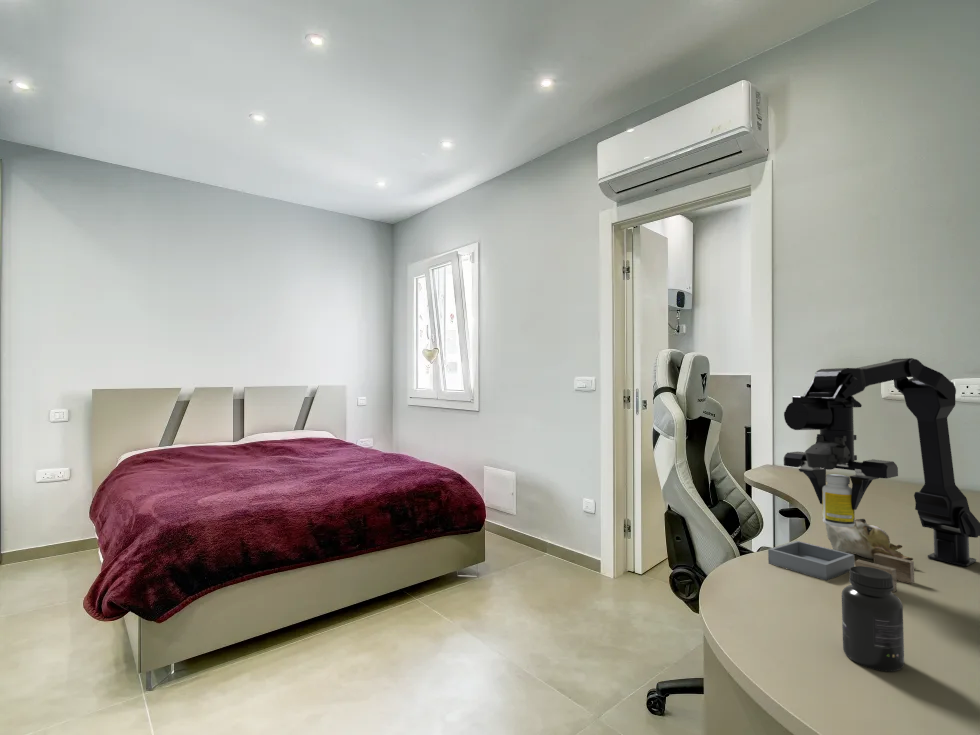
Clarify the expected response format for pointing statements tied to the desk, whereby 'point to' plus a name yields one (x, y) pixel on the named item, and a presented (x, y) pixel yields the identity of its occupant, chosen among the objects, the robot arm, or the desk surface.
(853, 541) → the ceramic sculpture
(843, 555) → the tray
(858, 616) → the supplement bottle
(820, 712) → the desk surface
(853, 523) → the supplement bottle
